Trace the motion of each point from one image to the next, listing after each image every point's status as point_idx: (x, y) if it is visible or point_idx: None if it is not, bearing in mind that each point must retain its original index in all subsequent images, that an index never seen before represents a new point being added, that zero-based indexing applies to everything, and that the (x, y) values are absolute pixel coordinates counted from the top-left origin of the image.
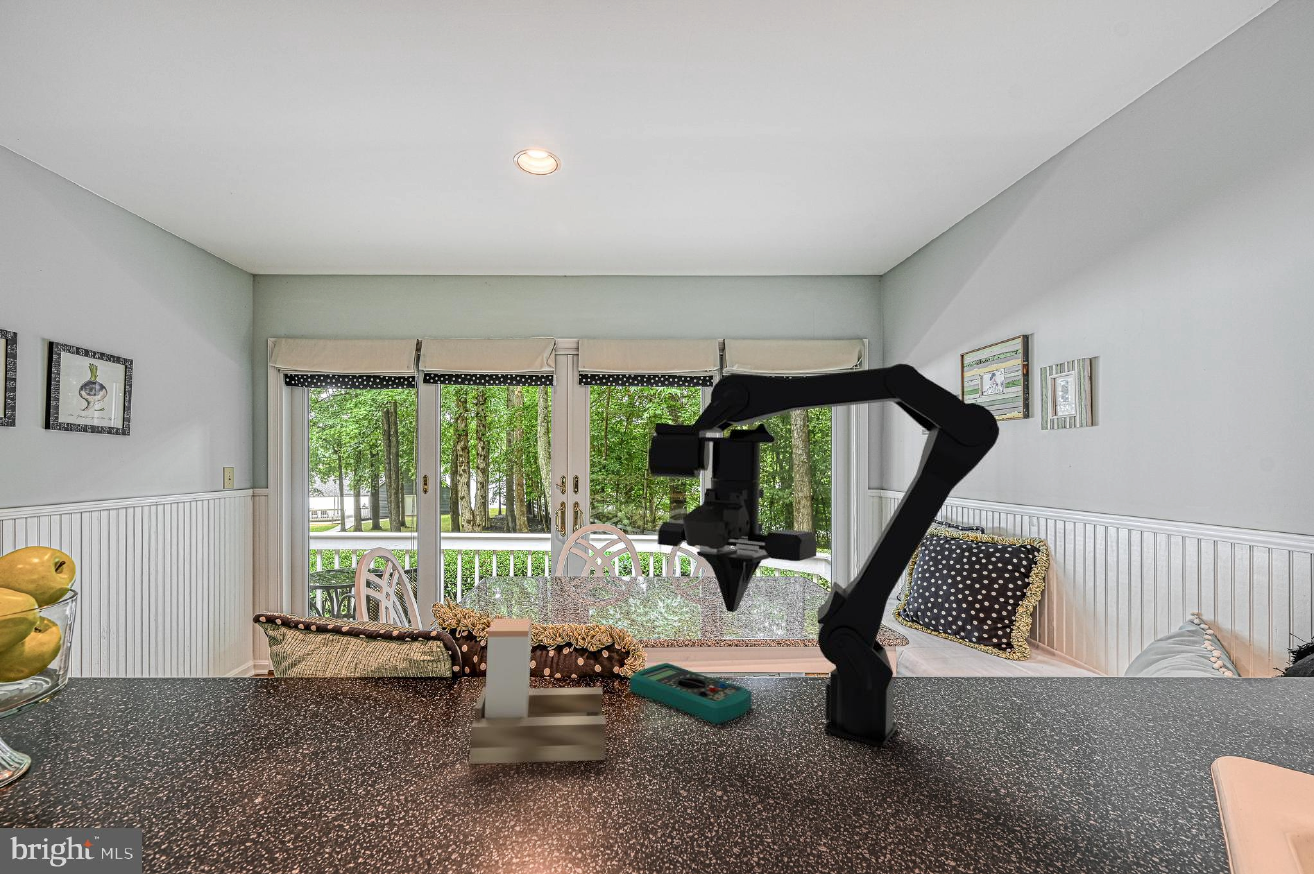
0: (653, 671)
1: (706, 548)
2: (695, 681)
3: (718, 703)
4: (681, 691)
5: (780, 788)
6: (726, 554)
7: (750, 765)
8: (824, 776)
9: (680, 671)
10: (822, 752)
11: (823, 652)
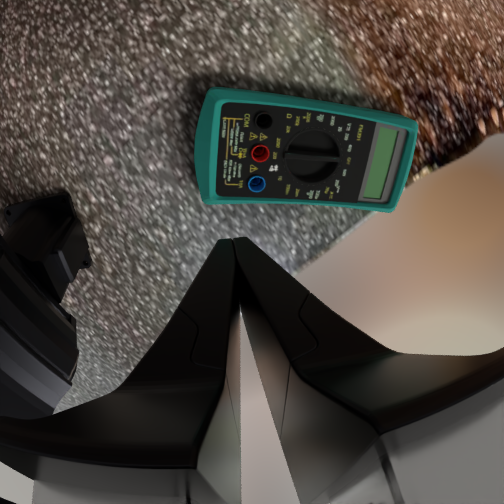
0: (398, 170)
1: (490, 438)
2: (317, 179)
3: (212, 102)
4: (306, 106)
5: (28, 7)
6: (322, 476)
7: (83, 15)
8: (5, 80)
9: (358, 194)
10: (36, 134)
11: (1, 255)
